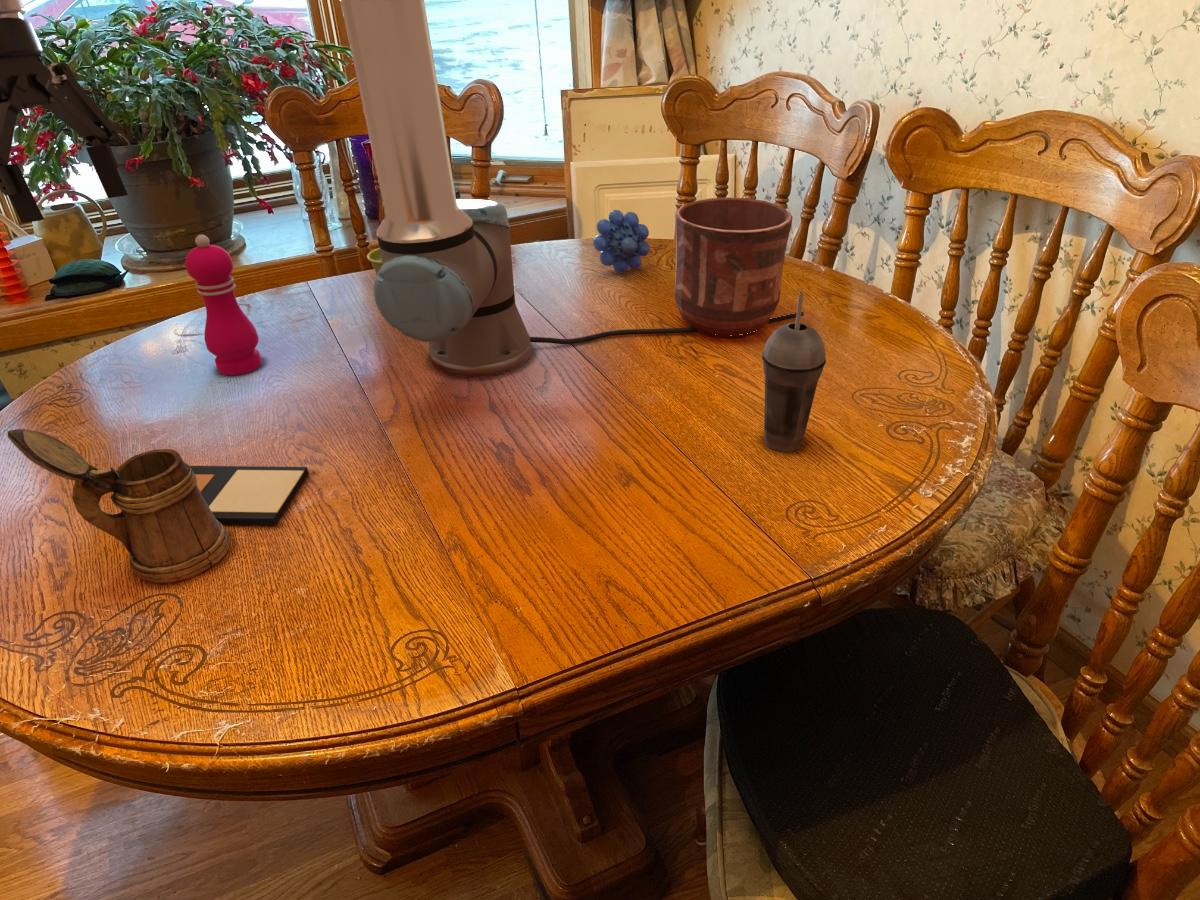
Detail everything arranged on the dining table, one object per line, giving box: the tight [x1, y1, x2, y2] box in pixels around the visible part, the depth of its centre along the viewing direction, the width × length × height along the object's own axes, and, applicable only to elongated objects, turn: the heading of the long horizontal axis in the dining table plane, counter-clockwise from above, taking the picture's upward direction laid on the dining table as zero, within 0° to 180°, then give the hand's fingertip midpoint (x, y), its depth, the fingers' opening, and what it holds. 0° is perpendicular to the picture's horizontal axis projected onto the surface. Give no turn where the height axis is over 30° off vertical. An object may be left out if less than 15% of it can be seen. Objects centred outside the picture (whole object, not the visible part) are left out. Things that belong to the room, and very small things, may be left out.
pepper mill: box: [184, 234, 263, 376], centre depth 112 cm, size 7×7×20 cm
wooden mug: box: [7, 428, 231, 585], centre depth 75 cm, size 9×14×18 cm, turn 122°
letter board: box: [189, 465, 310, 527], centre depth 88 cm, size 15×10×1 cm, turn 87°
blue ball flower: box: [592, 209, 651, 274], centre depth 144 cm, size 12×7×12 cm, turn 116°
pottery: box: [674, 196, 793, 340], centre depth 122 cm, size 18×18×18 cm
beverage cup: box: [761, 290, 827, 453], centre depth 91 cm, size 7×7×20 cm
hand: (78, 208), depth 100 cm, fingers open, 13 cm apart
